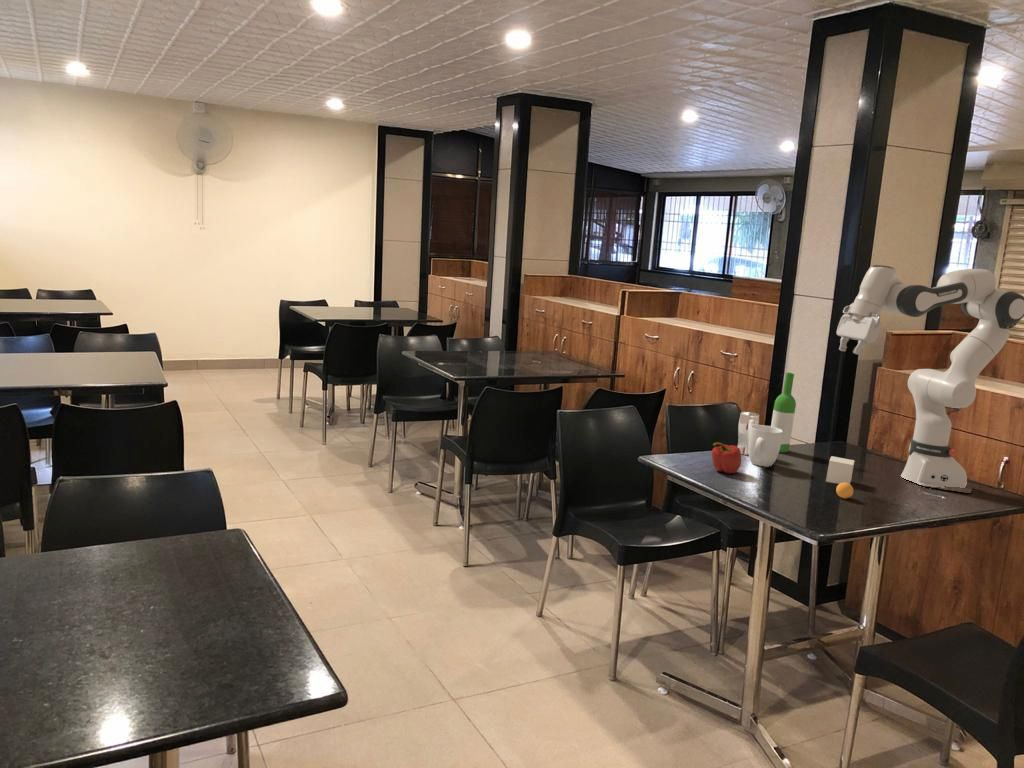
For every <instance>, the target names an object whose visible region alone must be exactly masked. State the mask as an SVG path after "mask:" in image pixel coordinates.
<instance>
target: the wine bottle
mask: <svg viewBox="0 0 1024 768" xmlns="http://www.w3.org/2000/svg"><path fill="white" fill-rule="evenodd" d="M794 379H795V373H794V372H786V373H785V378H784V384H783V389H782V393H780V394H779V395H778V396H777V397H776V399H775V400H774V403H773V404H774V405H773V410H772V416H771V424H770V426H771V427H775V428H778V429H781V430H782V431H783V434H782V440H781V446H780V450H779V453H780V454H781V453H782V454H784V453H787V452H788V451H789V450H790V445H791V438H792V432H793V426H794V419H795V413H796V408H797V403H796V399H795V397H794V396H793V395H792V392H793V391H792V390H793V385H794Z"/></svg>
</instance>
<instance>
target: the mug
mask: <svg viewBox="0 0 1024 768" xmlns="http://www.w3.org/2000/svg"><path fill="white" fill-rule="evenodd" d="M782 434H783V431H782V430H781V429H778V428H775V427H771V425H763V424H758V425H752V426H751V428H750V434H749V442H748V452H749V455H748V456H749V461H750V462H751V464H752V463H753V464H752V465H754V464H755V466H757V465H759V466H758V467H761V466H764V467H763V468H770V467H772V465H774V464H775V462H776V461H777V458H778V456H779V453H780V452H779V450H780V446H781V440H782ZM769 466H770V467H769Z"/></svg>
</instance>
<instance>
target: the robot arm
mask: <svg viewBox="0 0 1024 768" xmlns="http://www.w3.org/2000/svg"><path fill="white" fill-rule="evenodd" d="M996 287H997V280H996V276H995V275H994V273H993V272H992V271H990V270H989V269H985V268H984V269H983V268H966V269H959V270H954V271H950V272H947V273H944V274H942V275H941V276H940V278H939V279H938V280H937V282H936V286H934V287H929V286H926V285H921V284H910V283H909V284H907V283H903V282H902V281H901V280H900V279H899V277H898V275H897V273H896V269H895V267H892V266H889V265H883V264H873V265H871V266H870V267H869V268H868V270H866V273H865V275H864V277H863V278H862V281H861V283H860V285H859V291H858V294H857V296H856V297H855V299H854V301H853V302H852V303H850V305H846V306H845V307H844V308H843V310H842V313H843V315H842V316H841V317H840V319H839V322H838V325H837V329H836V335H837V336H838V337H841V338H840V339H839V340H840V341H839V343H840V345H839V348H838V350H839V351H841V352H846V351H847V348H848V346H847V344H848V342H849V341H850V340H855V341H857V345H856V346H855V347H854V348H853V350H852V353H853V354H855V355H860V354H861V352H862V351H863V350H864V348H865V346H867V343H868V344H869V343H870V344H874V342H876V340H877V337H878V335H879V332H880V329H881V325H882V324H881V323H882V322H881V312H882V310H884V311H885V312H890V313H895V314H900V315H905V316H908V317H912V318H920V317H922V316H924V315H925V314H927V313H928V312H930V311H931V310H934V309H935V308H939V307H944V306H948V305H955V304H956V305H957V304H958V305H959V304H960V309H961V311H962V313H964V314H965V315H967V316H968V317H971V318H975V319H978V320H979V321H978V323H977V325H976V327H975V328H973V329H972V330H971V332H969V333H968V334H967V335H966V336H965V337H964V338H963V340H961V341H960V343H959V344H957V346H955V348H954V349H953V350H951V353H950V354H949V359H950V362H951V365H950V366H949V367H948V369H947V370H945V371H941V370H937V369H935V368H934V369H933V368H918V369H916V370H914V371H912V372H911V374H910V375H909V377H908V379H907V387H908V390H909V392H910V394H911V396H912V398H913V402H914V406H915V425H914V429H913V430H914V431H913V435H912V436H913V437H912V438H911V440H910V443H909V448H908V458H907V461H906V463H905V466H904V469H903V470H902V473H901V474H900V476H901V477H902V478H904V479H906V480H909V481H912V482H914V483H917V484H919V485H923V486H931V487H941V488H945V487H944V486H946V487H960V488H965V487H966V485H967V483H968V482H967V481H968V477H967V472H966V470H965V468H964V467H963V466H962V465H961V464H960V463H959V462H958V461H957V460H956V459H955V458H954V457H953V456H955V455H956V450H955V449H954V447H952V446H950V445H949V441H950V436H951V431H952V427H953V426H952V421H951V419H950V418H949V416H948V414H947V410H946V407H948V408H953V409H954V408H955V409H964V408H968V407H969V406H971V405H972V404H973V402H974V401H975V400H976V396H977V388H976V381H977V380H978V379H977V378H978V376H979V375H980V374H981V372H982V371H983V370H984V368H985V367H986V366H987V365H988V364H989V363H990V362H991V361H992V360H993V359H994V358H995V357H996V355H997V354H999V352H1000V351H1001V349H1003V347H1004V346H1005V344H1006V343H1007V341H1008V340H1009V337H1010V335H1011V333H1010V330H1009V329H1012V328H1014V327H1015V326H1016V325H1017V324H1018V323H1019V322H1020V321H1021V320H1022V319H1023V318H1024V295H1022V294H1021V293H1019V292H1016V291H1009V290H1006V289H1001V288H1000V289H999V288H996ZM901 477H900V478H901ZM902 478H901V479H902ZM904 479H903V480H904ZM906 480H905V481H906ZM909 481H908V482H909ZM914 483H913V484H914Z"/></svg>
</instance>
